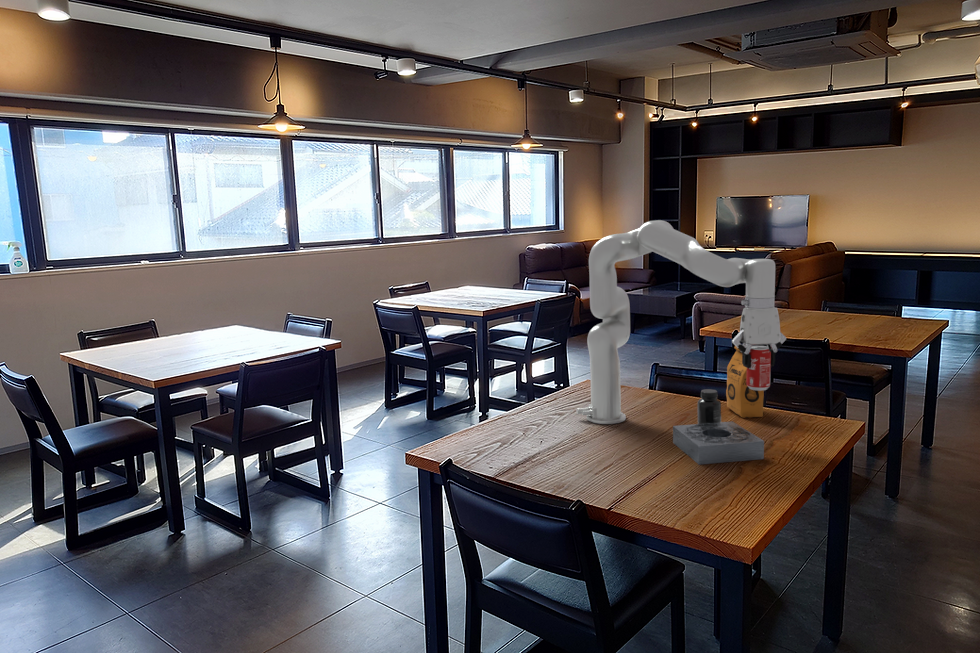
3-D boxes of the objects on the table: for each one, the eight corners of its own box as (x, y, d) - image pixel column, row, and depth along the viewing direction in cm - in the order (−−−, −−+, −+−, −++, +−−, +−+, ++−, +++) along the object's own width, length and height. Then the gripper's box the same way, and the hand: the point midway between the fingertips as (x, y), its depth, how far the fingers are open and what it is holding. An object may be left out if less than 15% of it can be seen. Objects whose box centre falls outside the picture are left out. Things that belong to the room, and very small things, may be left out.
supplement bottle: (718, 425, 211) (718, 387, 209) (723, 432, 204) (723, 393, 202) (695, 425, 212) (695, 388, 210) (699, 432, 205) (700, 394, 203)
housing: (698, 464, 180) (698, 446, 179) (672, 442, 198) (672, 425, 197) (763, 459, 182) (764, 441, 181) (732, 437, 200) (732, 421, 199)
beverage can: (749, 384, 199) (750, 344, 197) (772, 387, 195) (773, 346, 194) (743, 389, 194) (744, 348, 192) (766, 392, 190) (767, 350, 188)
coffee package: (736, 419, 217) (737, 351, 213) (723, 408, 229) (723, 343, 225) (767, 418, 217) (769, 349, 213) (752, 407, 229) (754, 342, 225)
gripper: (736, 306, 186) (735, 371, 189) (796, 303, 188) (794, 367, 191) (724, 303, 194) (723, 365, 197) (782, 300, 195) (780, 361, 198)
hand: (758, 365), depth 194 cm, fingers closed on beverage can, 6 cm apart
